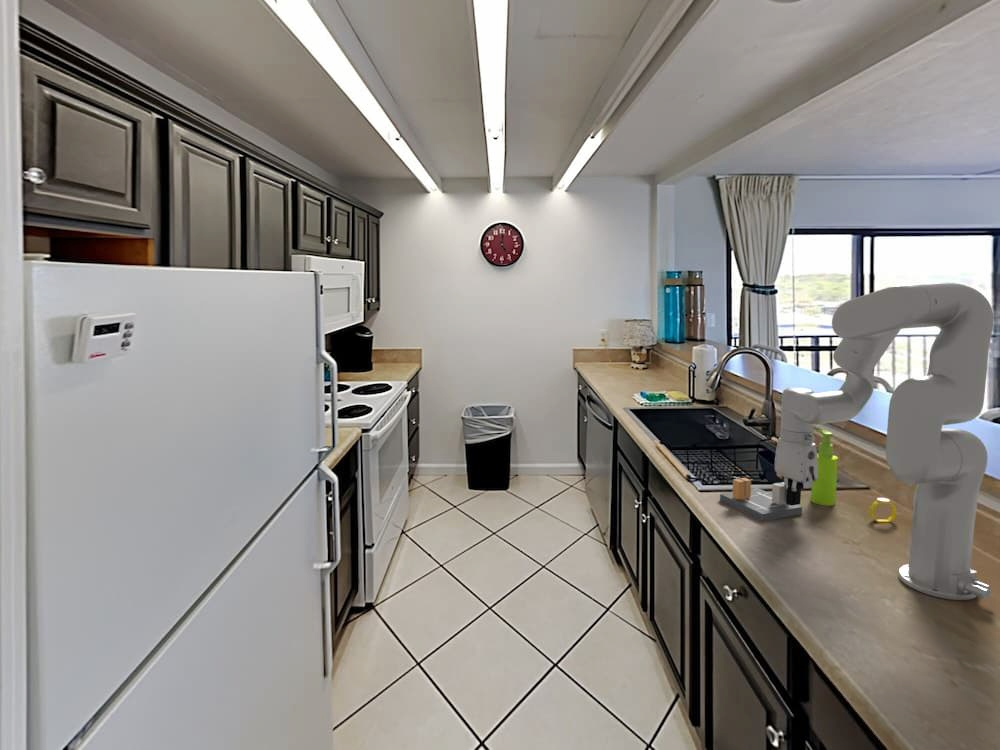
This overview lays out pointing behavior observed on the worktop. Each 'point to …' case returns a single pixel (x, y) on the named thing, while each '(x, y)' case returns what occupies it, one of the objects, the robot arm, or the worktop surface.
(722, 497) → the mixer panel
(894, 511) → the watch
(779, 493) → the fader ivory
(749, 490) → the fader orange
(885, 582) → the worktop surface
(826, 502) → the soap dispenser
